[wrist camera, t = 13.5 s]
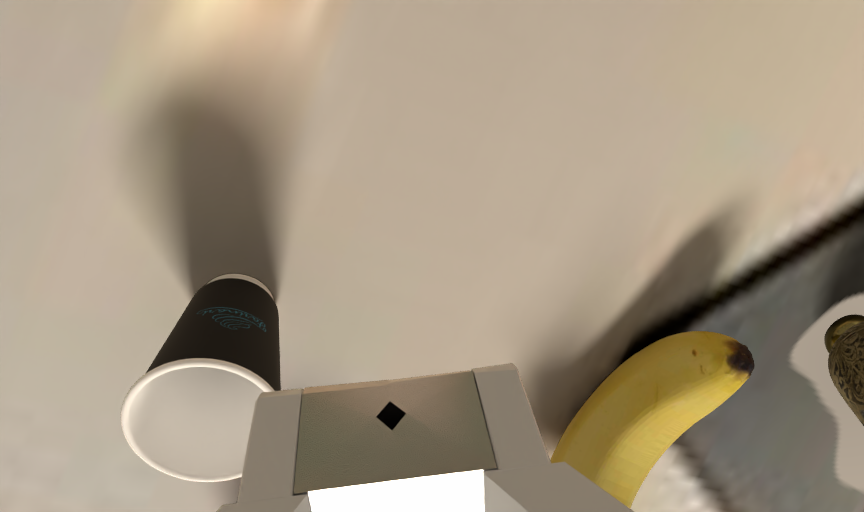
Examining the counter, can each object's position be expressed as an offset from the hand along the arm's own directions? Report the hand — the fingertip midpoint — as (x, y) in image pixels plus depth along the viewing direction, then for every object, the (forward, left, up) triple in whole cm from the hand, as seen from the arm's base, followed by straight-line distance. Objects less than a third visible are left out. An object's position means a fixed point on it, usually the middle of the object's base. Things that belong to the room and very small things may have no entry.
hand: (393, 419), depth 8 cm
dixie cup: (+17, +10, -31) cm, 37 cm away
